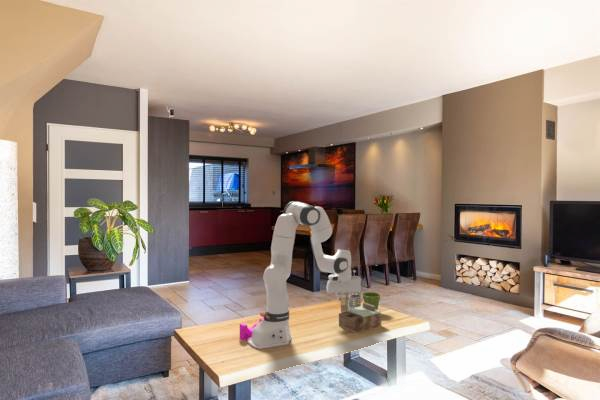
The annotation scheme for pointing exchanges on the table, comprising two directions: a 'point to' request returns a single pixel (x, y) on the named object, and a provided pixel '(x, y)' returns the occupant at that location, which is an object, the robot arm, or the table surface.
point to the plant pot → (371, 298)
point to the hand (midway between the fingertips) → (343, 300)
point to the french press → (354, 297)
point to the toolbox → (358, 321)
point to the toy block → (247, 330)
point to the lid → (364, 310)
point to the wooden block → (344, 302)
